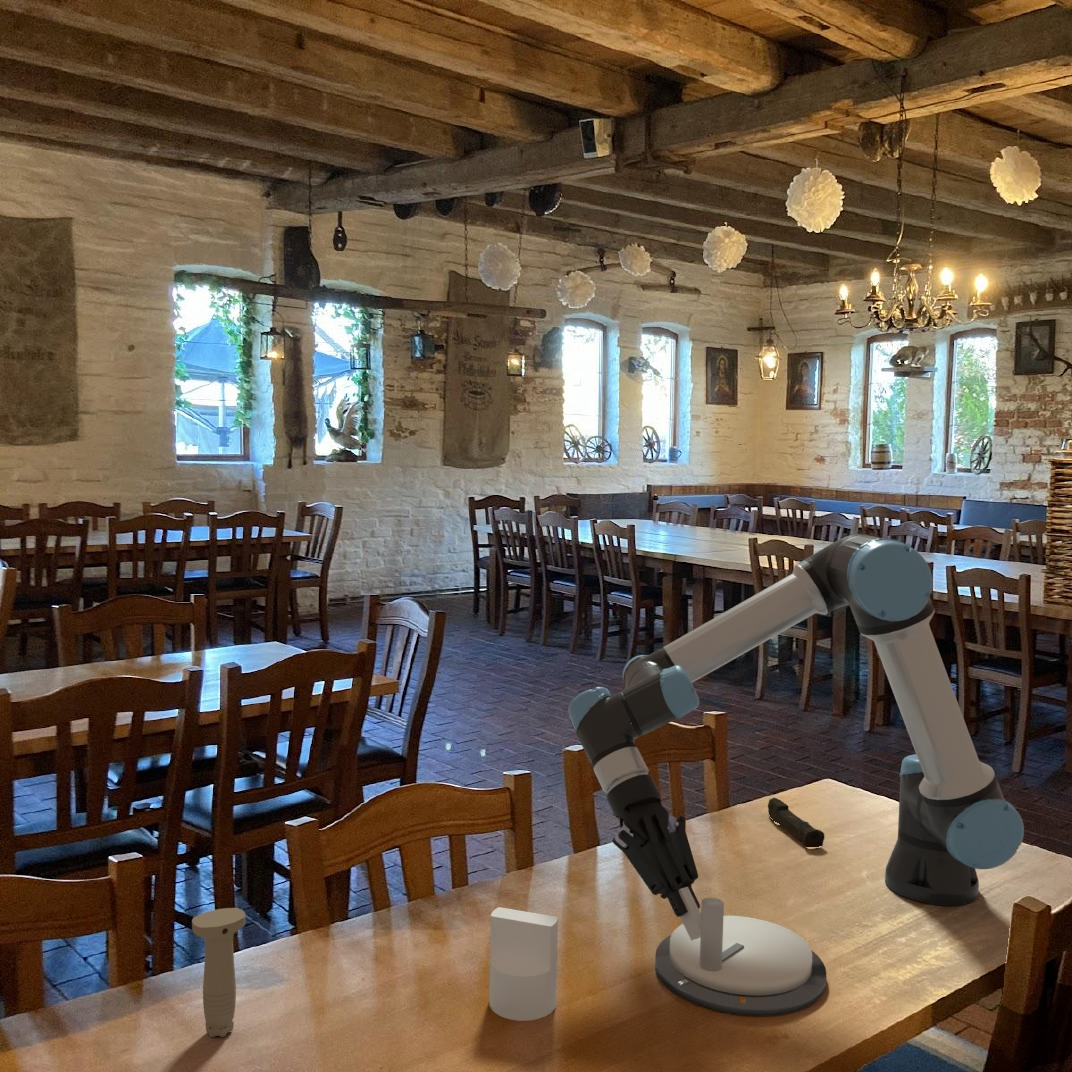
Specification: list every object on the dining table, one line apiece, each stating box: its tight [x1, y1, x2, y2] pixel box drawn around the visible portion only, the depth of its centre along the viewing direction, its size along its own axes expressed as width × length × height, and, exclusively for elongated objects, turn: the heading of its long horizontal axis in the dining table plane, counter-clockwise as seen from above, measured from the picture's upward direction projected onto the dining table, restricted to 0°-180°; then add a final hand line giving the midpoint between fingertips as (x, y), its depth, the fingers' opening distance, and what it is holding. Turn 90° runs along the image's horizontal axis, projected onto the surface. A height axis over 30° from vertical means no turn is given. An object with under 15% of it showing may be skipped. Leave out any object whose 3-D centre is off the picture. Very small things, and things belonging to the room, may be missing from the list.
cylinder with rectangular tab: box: [489, 906, 559, 1022], centre depth 142 cm, size 9×9×12 cm
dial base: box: [654, 934, 827, 1017], centre depth 152 cm, size 24×24×2 cm
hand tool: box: [767, 797, 825, 848], centre depth 209 cm, size 19×4×5 cm, turn 12°
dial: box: [670, 897, 813, 996], centre depth 152 cm, size 20×20×11 cm
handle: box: [191, 907, 247, 1038], centre depth 134 cm, size 5×6×15 cm
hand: (700, 935), depth 148 cm, fingers closed
